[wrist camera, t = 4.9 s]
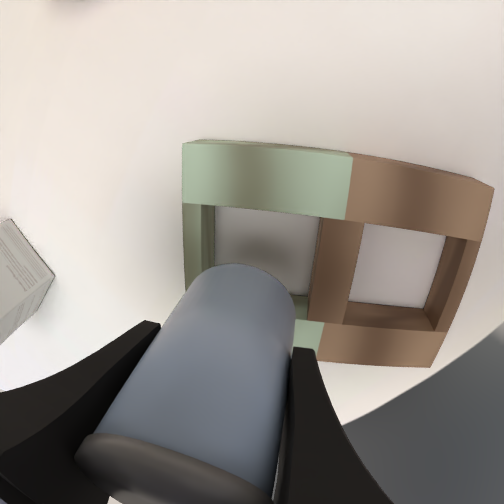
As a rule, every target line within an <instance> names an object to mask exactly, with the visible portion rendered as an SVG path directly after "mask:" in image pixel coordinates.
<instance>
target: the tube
mask: <svg viewBox="0 0 504 504" xmlns="http://www.w3.org/2000/svg"><path fill="white" fill-rule="evenodd" d="M295 320H296V312H295V307H294V303H293V300H292V298H291V296H290V294H289V293H288V291H287V290H286V288H285V287H284V286H283V285H282V284H281V283H280V282H279V281H278V280H277V279H276V278H274V277H273V276H272V275H270V274H268V273H267V272H265V271H263V270H261V269H259V268H256V267H253V266H249V265H244V264H236V263H233V264H222V265H218V266H214V267H212V268H209V269H207V270H205V271H204V272H202V273H201V274H200V275H199V276H197V277H196V279H195V280H194V281H193V282H192V284H191V285H190V287H189V288H188V289H187V291H186V292H185V294H184V295H183V297H182V298H181V300H180V301H179V303H178V304H177V306H176V307H175V308H174V310H173V311H172V313H171V314H170V316H169V317H168V319H167V320H166V322H165V323H164V325H163V326H162V328H161V329H160V331H159V332H158V334H157V335H156V337H155V338H154V340H153V341H152V343H151V344H150V346H149V347H148V349H147V350H146V352H145V353H144V355H143V356H142V358H141V359H140V361H139V362H138V364H137V366H136V367H135V369H134V370H133V372H132V373H131V375H130V376H129V378H128V379H127V381H126V382H125V384H124V386H123V387H122V389H121V390H120V392H119V393H118V395H117V396H116V398H115V400H114V401H113V403H112V404H111V406H110V407H109V409H108V411H107V412H106V414H105V415H104V417H103V419H102V420H101V422H100V423H99V425H98V427H97V428H96V430H95V431H94V433H93V434H90V435H88V436H87V437H86V438H85V439H84V441H83V442H82V444H81V445H80V447H79V449H78V450H77V452H76V453H75V456H74V459H75V463H76V464H77V466H78V468H79V469H80V470H81V472H82V473H83V474H84V475H85V476H86V477H87V478H88V479H89V480H90V481H91V482H92V483H94V484H95V485H96V486H97V487H98V488H100V489H101V490H102V491H104V492H105V493H107V494H108V495H110V496H111V497H113V498H114V499H116V500H117V501H119V502H121V503H122V504H274V502H273V501H272V499H271V498H272V493H273V487H274V481H275V475H276V469H277V463H278V457H279V450H280V443H281V437H282V430H283V422H284V415H285V408H286V400H287V392H288V381H289V372H290V364H291V357H292V349H293V340H294V330H295Z"/></svg>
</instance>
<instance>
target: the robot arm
mask: <svg viewBox="0 0 504 504" xmlns="http://www.w3.org/2000/svg"><path fill="white" fill-rule="evenodd" d="M160 329H161V325H160V323H155V322H151V321H146V320H144V321H142V322H141V323H139V324H138V325H136V326H134V327H133V328H131V329H130V330H128V331H127V332H125V333H124V334H123V335H121V336H120V337H118V338H117V339H115V340H113V341H112V342H110V343H109V344H107V345H106V346H104V347H103V348H101V349H100V350H98V351H96V352H95V353H93V354H91V355H90V356H88V357H86V358H85V359H83V360H81V361H79V362H78V363H76V364H74V365H72V366H70V367H69V368H67V369H65V370H63V371H61V372H58V373H56V374H54V375H52V376H50V377H47V378H45V379H42V380H40V381H37V382H34V383H31V384H29V385H26V386H23V387H20V388H16V389H13V390H9V391H5V392H1V393H0V504H107V503H108V500H109V496H110V495H108V494H107V493H105V492H104V491H102V490H101V489H100V488H98V487H97V486H96V485H95V484H94V483H92V482H91V481H90V480H89V479H88V478H87V477H86V476H85V475H84V474H83V473H82V472H81V470H80V469H79V468H78V466H77V464H76V463H75V459H74V456H75V453H76V452H77V450H78V449H79V447H80V445H81V444H82V442H83V441H84V439H85V438H86V437H87V436H88V435H90V434H93V433H94V431H95V430H96V428H97V427H98V425H99V423H100V422H101V420H102V419H103V417H104V415H105V414H106V412H107V411H108V409H109V407H110V406H111V404H112V403H113V401H114V400H115V398H116V396H117V395H118V393H119V392H120V390H121V389H122V387H123V386H124V384H125V382H126V381H127V379H128V378H129V376H130V375H131V373H132V372H133V370H134V369H135V367H136V366H137V364H138V362H139V361H140V359H141V358H142V356H143V355H144V353H145V352H146V350H147V349H148V347H149V346H150V344H151V343H152V341H153V340H154V338H155V337H156V335H157V334H158V332H159V331H160ZM273 502H274V504H394V503H393V502H392V501H391V500H390V499H389V498H388V496H387V495H386V494H385V493H384V491H382V489H381V488H380V486H379V485H378V484H377V482H376V481H375V480H374V478H373V477H372V476H371V474H370V473H369V471H368V470H367V469H366V467H365V466H364V464H363V463H362V461H361V459H360V458H359V456H358V455H357V453H356V452H355V450H354V448H353V446H352V445H351V443H350V441H349V439H348V437H347V436H346V434H345V432H344V430H343V428H342V426H341V424H340V421H339V419H338V417H337V415H336V413H335V411H334V408H333V406H332V404H331V401H330V398H329V396H328V393H327V391H326V388H325V385H324V383H323V380H322V376H321V373H320V370H319V367H318V363H317V359H316V354H315V351H314V350H313V349H312V348H303V347H295V346H293V351H292V357H291V364H290V372H289V381H288V392H287V400H286V408H285V415H284V422H283V430H282V437H281V443H280V450H279V465H278V476H277V483H276V489H275V494H274V500H273Z"/></svg>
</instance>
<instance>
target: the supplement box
mask: <svg viewBox="0 0 504 504" xmlns="http://www.w3.org/2000/svg"><path fill="white" fill-rule="evenodd" d="M53 278H54V275H53V273H52V272H51V271H50V270H49V269H48V267H47V266H46V265H45V263H44V262H43V261H42V260H41V259H40V257H39V256H38V255H37V253H36V252H35V251H34V250H33V248H32V247H31V246H30V244H29V243H28V242H27V240H26V239H25V238H24V236H23V235H22V234H21V232H20V231H19V230H18V228H17V227H16V225H15V224H14V223H13V222H12V220H10V219H8V220H6V221H4V222H2V223H0V345H1V344H2V343H3V342H4V341H5V340H6V339H7V338H8V337H9V336H10V335H11V334H12V333H13V332H14V331H15V330H16V329H17V328H18V327H20V326H21V325H22V324H23V323H24V322H25V321H26V320H27V319H29V318H30V317H31V316H32V315H33V314H34V313H35V312H36V311H37V309H38V307H39V305H40V303H41V301H42V299H43V297H44V295H45V293H46V292H47V290H48V288H49V286H50V284H51V282H52V280H53Z"/></svg>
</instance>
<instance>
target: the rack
mask: <svg viewBox="0 0 504 504" xmlns="http://www.w3.org/2000/svg"><path fill="white" fill-rule="evenodd" d="M493 193H494V188H493V187H491V186H489V185H487V184H484V183H482V182H480V181H478V180H476V179H474V178H471V177H467V176H463V175H459V174H455V173H451V172H447V171H443V170H439V169H434V168H430V167H426V166H421V165H416V164H411V163H407V162H402V161H396V160H391V159H386V158H380V157H374V156H368V155H362V154H356V153H349V152H342V151H335V150H328V149H320V148H312V147H303V146H293V145H283V144H272V143H259V142H244V141H225V140H195V141H191V142H187V143H183V144H182V214H183V248H184V271H185V289H186V291H187V289H188V288H189V287H190V285H191V284H192V282H193V281H194V280H195V279H196V277H197V276H199V275H200V274H201V273H202V272H204V271H205V270H207V269H209V268H212V267H214V224H215V206H225V207H236V208H246V209H255V210H265V211H274V212H283V213H292V214H300V215H308V216H316V217H320V221H319V229H318V236H317V243H316V249H315V256H314V263H313V269H312V275H311V281H310V287H309V293H308V297H305V296H297V295H290V296H291V298H292V300H293V303H294V307H295V312H296V320H295V330H294V340H293V346H295V347H303V348H312V349H313V350H314V351H315V354H316V359H317V361H324V362H335V363H346V364H359V365H374V366H393V367H425V368H430V367H431V365H432V363H433V361H434V359H435V357H436V355H437V353H438V351H439V349H440V347H441V345H442V343H443V341H444V339H445V337H446V335H447V332H448V330H449V328H450V326H451V323H452V321H453V319H454V316H455V314H456V312H457V309H458V307H459V304H460V302H461V299H462V297H463V294H464V292H465V289H466V286H467V284H468V281H469V278H470V275H471V272H472V270H473V267H474V264H475V261H476V257H477V254H478V251H479V248H480V244H481V241H482V238H483V234H484V230H485V227H486V223H487V219H488V215H489V211H490V207H491V202H492V198H493ZM364 223H369V224H376V225H383V226H389V227H396V228H402V229H409V230H415V231H421V232H427V233H433V234H439V235H445V236H447V238H446V241H445V245H444V248H443V252H442V255H441V259H440V262H439V265H438V269H437V272H436V275H435V278H434V281H433V284H432V287H431V290H430V293H429V296H428V298H427V301H426V304H425V307H424V309H419V308H408V307H397V306H387V305H377V304H367V303H357V302H348V298H349V294H350V290H351V285H352V281H353V277H354V272H355V268H356V263H357V258H358V254H359V249H360V244H361V239H362V233H363V228H364ZM292 351H293V349H292Z"/></svg>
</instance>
